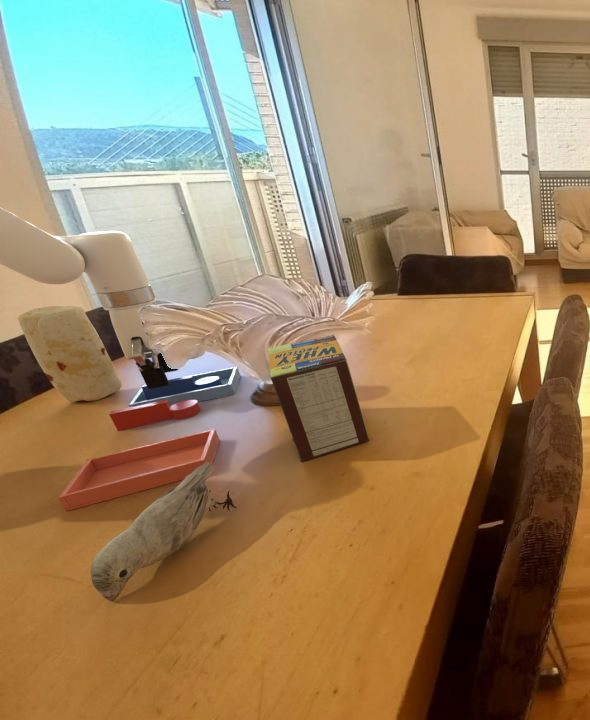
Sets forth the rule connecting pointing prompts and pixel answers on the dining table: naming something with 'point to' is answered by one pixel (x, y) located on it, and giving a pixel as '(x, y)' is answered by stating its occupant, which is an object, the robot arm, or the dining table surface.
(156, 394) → the blue spoon
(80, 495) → the red tray
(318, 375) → the protein box
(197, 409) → the red spoon
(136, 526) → the decorative bird
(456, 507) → the dining table surface
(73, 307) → the food model
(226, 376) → the blue tray
